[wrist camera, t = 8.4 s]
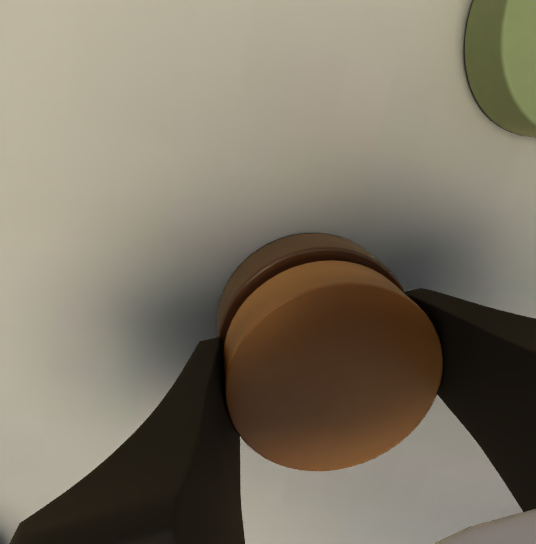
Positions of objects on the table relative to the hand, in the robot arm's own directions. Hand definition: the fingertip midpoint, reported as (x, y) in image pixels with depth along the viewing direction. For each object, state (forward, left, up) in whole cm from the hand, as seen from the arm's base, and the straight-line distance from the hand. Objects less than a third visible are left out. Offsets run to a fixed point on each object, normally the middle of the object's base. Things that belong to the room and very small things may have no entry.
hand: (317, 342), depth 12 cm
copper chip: (0, 0, +1) cm, 1 cm away
